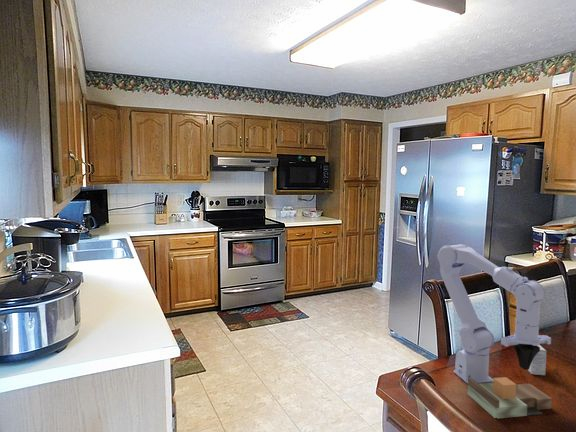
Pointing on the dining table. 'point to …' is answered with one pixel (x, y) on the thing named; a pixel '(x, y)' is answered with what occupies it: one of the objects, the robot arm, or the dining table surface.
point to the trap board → (509, 400)
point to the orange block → (504, 388)
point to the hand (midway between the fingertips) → (524, 368)
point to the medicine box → (539, 363)
